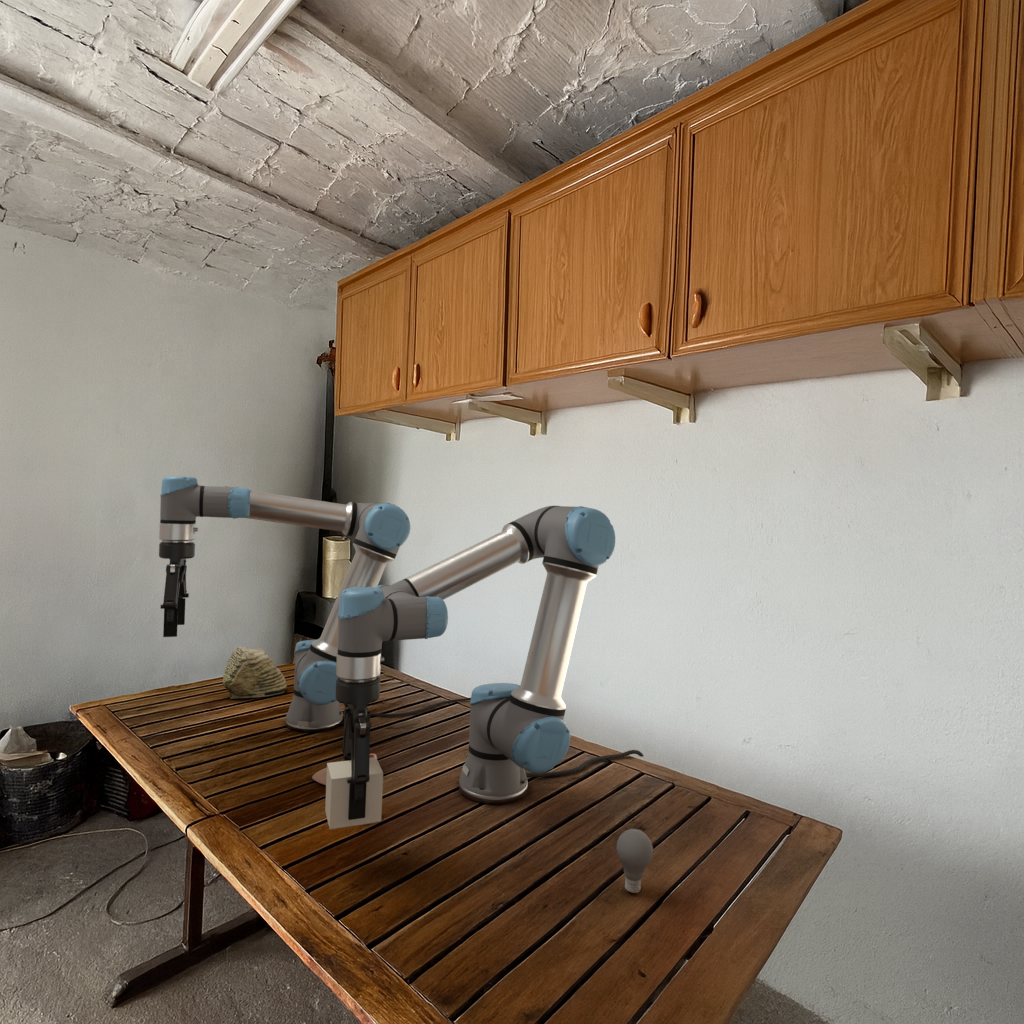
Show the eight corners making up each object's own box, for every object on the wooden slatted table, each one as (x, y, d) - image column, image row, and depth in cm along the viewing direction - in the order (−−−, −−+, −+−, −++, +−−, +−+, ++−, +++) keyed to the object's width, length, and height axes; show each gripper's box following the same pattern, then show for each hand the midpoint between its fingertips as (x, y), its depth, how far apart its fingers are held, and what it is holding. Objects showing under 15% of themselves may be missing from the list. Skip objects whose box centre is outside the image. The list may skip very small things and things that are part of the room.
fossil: (218, 695, 195) (220, 647, 195) (278, 685, 208) (279, 640, 207) (228, 703, 189) (230, 653, 188) (289, 692, 201) (290, 645, 201)
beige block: (329, 829, 106) (331, 779, 106) (325, 810, 112) (327, 762, 112) (381, 821, 109) (383, 772, 109) (374, 803, 116) (376, 757, 115)
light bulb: (610, 879, 108) (613, 822, 108) (644, 879, 109) (647, 822, 109) (619, 902, 102) (622, 840, 102) (655, 901, 103) (658, 840, 103)
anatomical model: (305, 765, 139) (330, 745, 150) (304, 783, 139) (330, 762, 151) (361, 773, 137) (383, 752, 148) (360, 791, 137) (382, 769, 148)
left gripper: (188, 545, 140) (185, 641, 140) (200, 537, 163) (197, 619, 164) (150, 545, 137) (146, 642, 138) (167, 537, 160) (164, 620, 161)
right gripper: (391, 692, 103) (385, 832, 103) (370, 661, 121) (365, 780, 121) (344, 695, 100) (338, 840, 100) (329, 663, 118) (325, 785, 118)
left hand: (174, 630), depth 151 cm, fingers open, 13 cm apart
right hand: (353, 807), depth 111 cm, fingers closed on beige block, 7 cm apart
